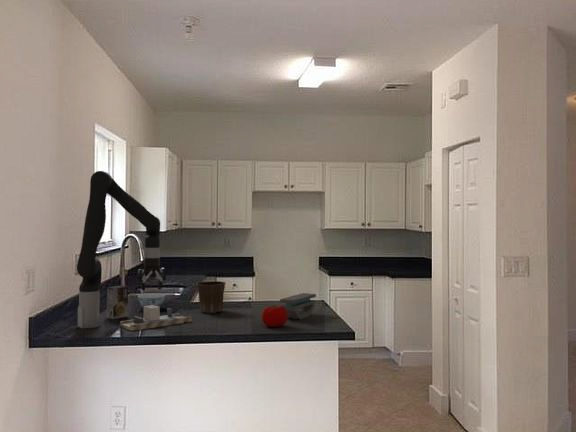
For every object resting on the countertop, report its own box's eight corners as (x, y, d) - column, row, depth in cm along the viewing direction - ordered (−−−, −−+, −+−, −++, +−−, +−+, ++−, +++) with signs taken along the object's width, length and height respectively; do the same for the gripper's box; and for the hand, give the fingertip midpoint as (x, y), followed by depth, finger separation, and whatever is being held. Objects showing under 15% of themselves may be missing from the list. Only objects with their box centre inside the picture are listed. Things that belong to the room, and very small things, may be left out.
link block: (150, 320, 252) (150, 307, 252) (143, 318, 257) (143, 306, 257) (159, 319, 255) (159, 306, 255) (152, 317, 260) (152, 304, 260)
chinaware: (149, 312, 290) (149, 298, 290) (132, 309, 299) (132, 296, 299) (170, 308, 302) (170, 295, 302) (153, 306, 311) (153, 293, 311)
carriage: (147, 324, 250) (147, 313, 250) (138, 321, 256) (138, 310, 256) (176, 319, 260) (176, 309, 260) (168, 317, 267) (168, 307, 267)
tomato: (290, 328, 248) (290, 306, 248) (264, 329, 245) (264, 307, 245) (283, 323, 259) (283, 302, 259) (259, 325, 255) (259, 304, 255)
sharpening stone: (303, 312, 289) (303, 293, 289) (315, 314, 285) (315, 294, 285) (280, 320, 267) (280, 299, 267) (293, 321, 263) (293, 300, 263)
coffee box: (121, 315, 281) (121, 285, 281) (128, 316, 277) (128, 286, 277) (106, 317, 274) (106, 287, 274) (113, 319, 270) (113, 288, 270)
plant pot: (200, 315, 281) (200, 285, 281) (193, 310, 296) (193, 282, 296) (229, 313, 288) (229, 283, 288) (220, 308, 302) (220, 280, 302)
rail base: (131, 330, 242) (131, 321, 242) (119, 326, 252) (119, 317, 252) (191, 321, 263) (191, 312, 263) (178, 318, 273) (178, 309, 273)
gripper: (142, 257, 249) (141, 292, 249) (168, 256, 258) (168, 289, 258) (135, 256, 254) (134, 290, 254) (161, 255, 264) (160, 287, 264)
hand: (151, 289), depth 256 cm, fingers open, 8 cm apart
